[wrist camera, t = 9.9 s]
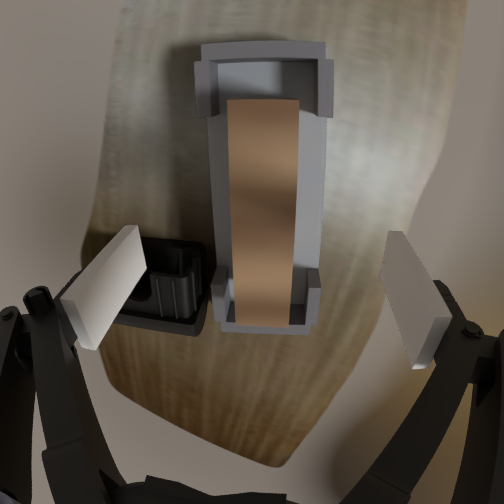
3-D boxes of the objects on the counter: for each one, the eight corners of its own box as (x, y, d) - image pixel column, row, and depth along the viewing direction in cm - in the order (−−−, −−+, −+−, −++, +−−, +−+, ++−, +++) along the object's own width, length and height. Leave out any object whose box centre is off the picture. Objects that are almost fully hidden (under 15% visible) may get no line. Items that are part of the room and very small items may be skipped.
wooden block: (240, 98, 22) (227, 99, 16) (295, 98, 21) (299, 100, 16) (244, 281, 29) (235, 325, 24) (288, 283, 29) (288, 327, 24)
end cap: (123, 292, 33) (96, 332, 27) (113, 233, 29) (78, 269, 24) (211, 304, 32) (196, 351, 26) (210, 242, 29) (191, 284, 23)
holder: (207, 49, 21) (193, 42, 17) (325, 48, 20) (333, 40, 16) (223, 306, 32) (216, 332, 29) (312, 309, 31) (314, 336, 28)
